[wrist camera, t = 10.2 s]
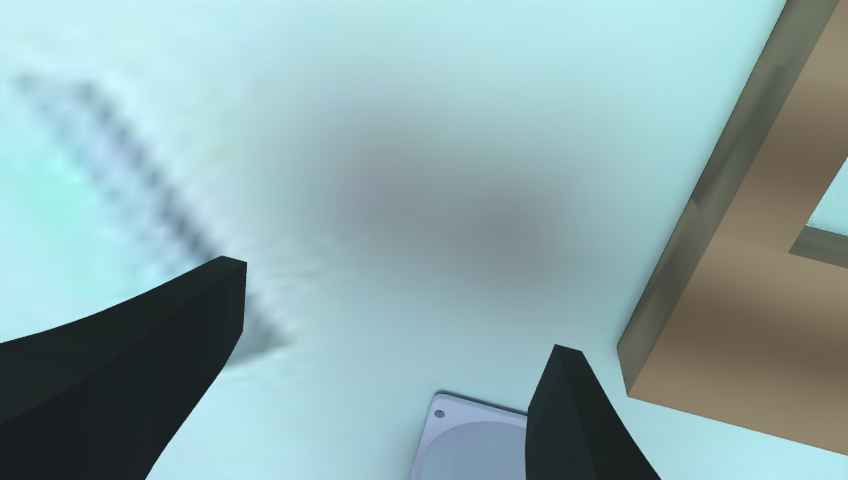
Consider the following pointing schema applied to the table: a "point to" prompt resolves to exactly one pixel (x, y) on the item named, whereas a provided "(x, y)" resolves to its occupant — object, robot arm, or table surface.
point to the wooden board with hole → (760, 255)
